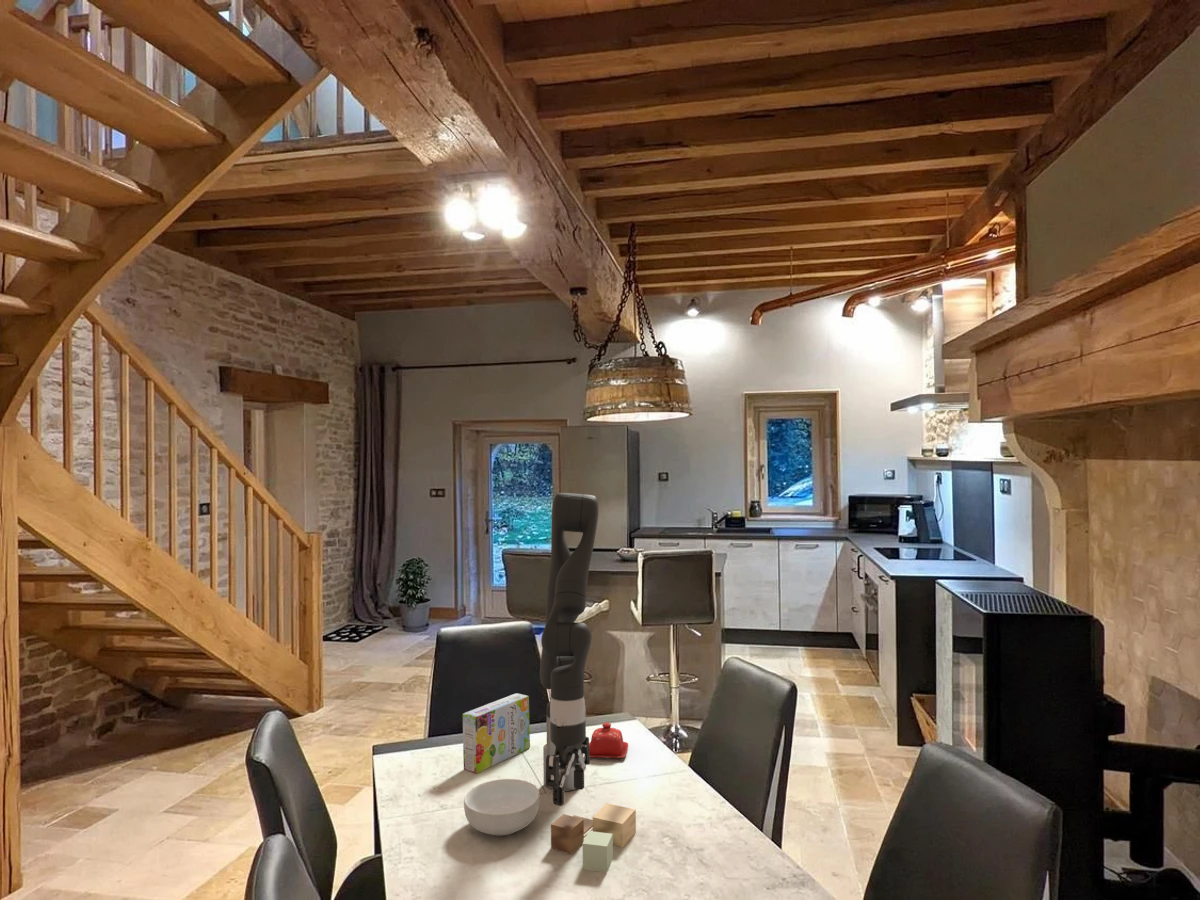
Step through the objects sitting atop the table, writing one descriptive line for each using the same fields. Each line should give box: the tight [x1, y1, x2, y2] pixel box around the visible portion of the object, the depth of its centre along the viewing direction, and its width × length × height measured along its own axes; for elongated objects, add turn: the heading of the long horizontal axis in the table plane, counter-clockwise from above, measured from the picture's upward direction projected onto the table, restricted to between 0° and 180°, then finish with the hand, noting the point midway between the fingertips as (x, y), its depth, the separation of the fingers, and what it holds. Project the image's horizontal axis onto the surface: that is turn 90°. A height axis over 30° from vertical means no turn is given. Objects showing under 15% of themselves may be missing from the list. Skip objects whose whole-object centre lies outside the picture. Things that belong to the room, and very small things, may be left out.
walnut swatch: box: [572, 814, 593, 838], centre depth 154 cm, size 7×7×1 cm
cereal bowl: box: [463, 778, 540, 837], centre depth 154 cm, size 17×17×7 cm
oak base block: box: [592, 802, 637, 848], centre depth 149 cm, size 7×7×5 cm
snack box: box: [462, 692, 531, 774], centre depth 192 cm, size 21×6×15 cm, turn 144°
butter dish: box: [589, 721, 629, 760], centre depth 195 cm, size 12×12×8 cm
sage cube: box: [582, 830, 614, 873], centre depth 139 cm, size 5×5×5 cm
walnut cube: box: [550, 813, 585, 855], centre depth 146 cm, size 5×5×5 cm
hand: (569, 796), depth 146 cm, fingers open, 8 cm apart
